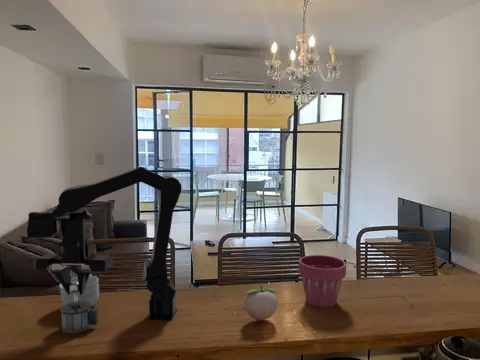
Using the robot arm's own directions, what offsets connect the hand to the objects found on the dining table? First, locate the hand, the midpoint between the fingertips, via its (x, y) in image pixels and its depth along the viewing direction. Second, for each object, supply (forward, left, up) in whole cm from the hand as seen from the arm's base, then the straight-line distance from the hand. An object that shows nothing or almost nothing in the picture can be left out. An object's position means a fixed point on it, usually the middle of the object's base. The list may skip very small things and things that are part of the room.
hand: (75, 294), depth 105 cm
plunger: (0, 0, -5) cm, 5 cm away
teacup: (+5, -14, -9) cm, 18 cm away
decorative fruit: (-49, -7, -9) cm, 50 cm away
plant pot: (-67, -22, -9) cm, 71 cm away
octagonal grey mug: (0, 0, -9) cm, 9 cm away
